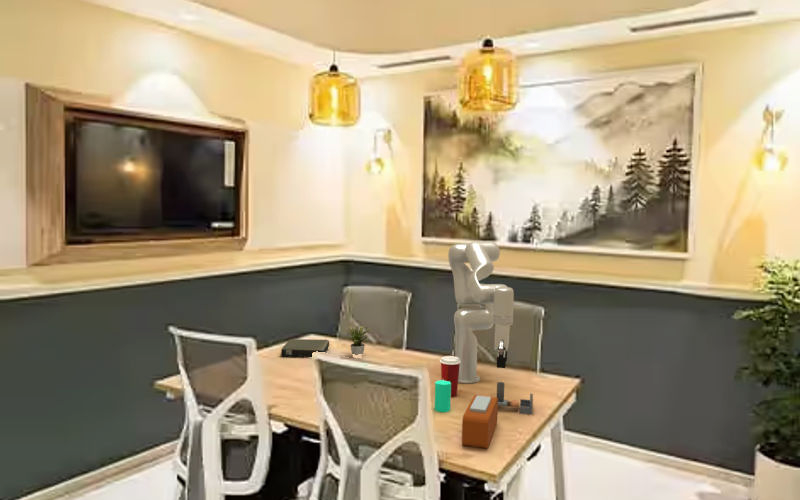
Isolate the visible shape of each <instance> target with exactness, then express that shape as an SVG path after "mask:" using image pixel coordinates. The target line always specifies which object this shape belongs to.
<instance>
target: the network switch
mask: <svg viewBox="0 0 800 500" xmlns="http://www.w3.org/2000/svg"><path fill="white" fill-rule="evenodd" d="M328 347H329V348H330V340H328V339H309V338H308V339H306V338H305V339H302V338H298V339H295V338H291V339H288V341H286V343H284V345H283V347H282V348H281V349H280V350H281V353H280V354H281V355H280V356H281V358H284V357H286V358H304V357H312V353H313V352H316V351H318V352H326V353H327V351H328V350H329V349H328ZM327 349H328V350H327Z"/></svg>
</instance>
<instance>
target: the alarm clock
mask: <svg viewBox="0 0 800 500" xmlns="http://www.w3.org/2000/svg"><path fill="white" fill-rule="evenodd" d="M498 412H499V411H498V398H497V396H496V397H495V396H487V395H477V394H474V395H473V397H472V400H470V402H469V404H468V406H467V408H466V410H465V412H464V414H463V415H462V420H461V421H462V422H461V423H462V424H461V427H462V428H461V444H462V446H465V447H473V448H475V447H476V448H481V449H488V448H489V446H490V443H491V441H492V438H493V435H494V433H495V430H496V428H497V425H498V414H499V413H498Z"/></svg>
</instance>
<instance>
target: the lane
mask: <svg viewBox="0 0 800 500" xmlns="http://www.w3.org/2000/svg"><path fill="white" fill-rule="evenodd" d="M511 401H512V400H507V406H498V412H510V413H519V407H511V406H510V403H511Z"/></svg>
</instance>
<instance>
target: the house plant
mask: <svg viewBox="0 0 800 500" xmlns="http://www.w3.org/2000/svg"><path fill="white" fill-rule="evenodd" d="M364 328H365V326H363V325H360V327H359V329H358V326H357V325H355V328H353V327H352V326H351V325H350V329H351V331H350V330H349V329H347V332H348V333H349V334H350V335H351V336H350V337H349V336H346V337H345V339H349V340H351V341H352V342H353V343H351V344H350V351H351V355H352V354H355V355H358V354H363V355H364V352H365V346H366V345H365V343H363V342H364V341H365V340H367V341H370V340H369V338H368V337H369V336H370V335H366V336H365V334H367V333H369V332H370V331H371V330H372V329H373V327H372V328H368V329H366V330H365V331H364Z"/></svg>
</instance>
